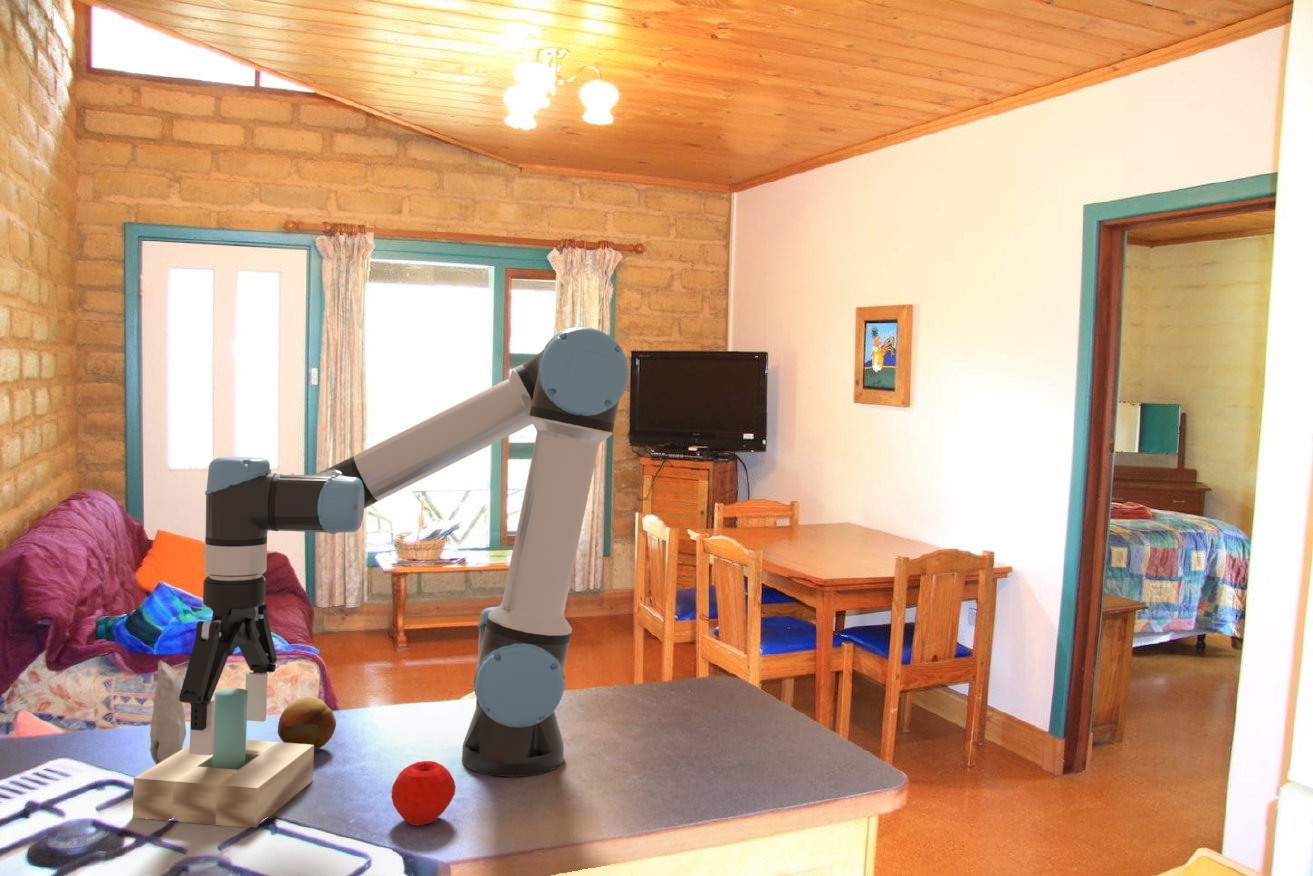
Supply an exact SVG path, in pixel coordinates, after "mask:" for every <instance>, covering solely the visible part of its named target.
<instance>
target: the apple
mask: <svg viewBox="0 0 1313 876" xmlns="http://www.w3.org/2000/svg"><path fill="white" fill-rule="evenodd" d="M456 789H457V787H456V782H455V780H454V777H453V775H452V774H451V771H449V769H447V768H446V766H444V765H443V764H441V763H438V762H437V761H431V760H423V761H417V762H415V763H412V764H409V765H408V766H406V767H405V768H403V769H402V770H401V771H400V772H399V773H398V775H397V777H396V779H395V780H394V783H393V785H392V787H391V801H392V804H393V807H394V808H395V810H396V811H397V813H398V814H399V816H400V817H401V818H402V819H403V820H404V821H405V822H406V823H407V824H410V825H412V826H423V825H427V824H430V823H432V822H434V821H436V820H437V819H438V818H439V817H441V815H442V814H443V813H444V812H445V811H446V809H447V808H448V807H449V805H450V804H451V802H452V800H453V798H454V797H455V794H456Z"/></svg>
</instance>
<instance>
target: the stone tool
mask: <svg viewBox="0 0 1313 876" xmlns="http://www.w3.org/2000/svg"><path fill="white" fill-rule="evenodd" d="M181 689H182V687H181V686H180V681H179V678H178V674H177V673H176V672H175V671H174V669H173V668H172V667H171V666H170V664H168V663H166V662H164V661H163V660H158V662H157V682H156V687H155V691H154V698H153V710H152V717H151V719H150V731H149V736H150V738H149V739H150V747H149V748H150V749H149V751H150V754H151V755H150V756H151V759H152V761H153V763H154V764H155V765H157V764H158V763H160V762H162V761H163V760H165V759H167V758H168V757H170V756H172V755H174V754H175V753H177V752H179V751H180V750H182V749H183V748H184V743H185V739H186V736H187V727H186V713H185V706H184V703H183V702H180V700H179V697H180V693H181Z"/></svg>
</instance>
